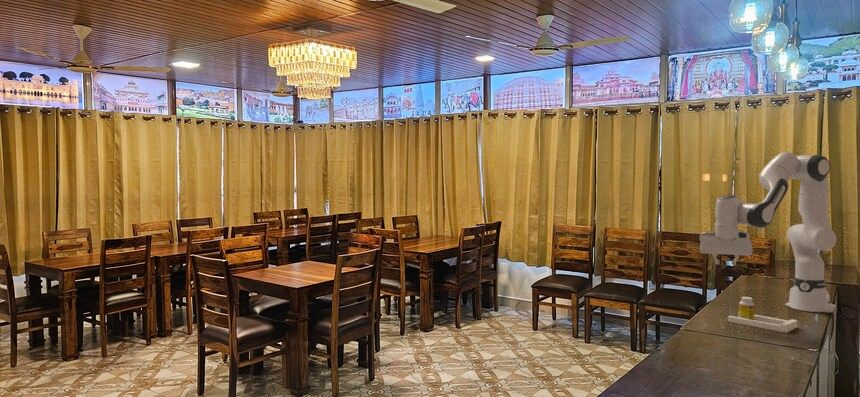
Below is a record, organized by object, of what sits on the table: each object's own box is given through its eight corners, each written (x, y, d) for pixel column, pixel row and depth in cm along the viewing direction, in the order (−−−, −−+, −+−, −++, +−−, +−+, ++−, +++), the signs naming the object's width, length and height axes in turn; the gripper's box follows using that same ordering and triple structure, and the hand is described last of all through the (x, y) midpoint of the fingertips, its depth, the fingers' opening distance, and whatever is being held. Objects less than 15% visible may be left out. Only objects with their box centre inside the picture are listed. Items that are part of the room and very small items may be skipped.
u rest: (739, 316, 245) (739, 310, 245) (797, 327, 228) (797, 320, 228) (727, 321, 237) (727, 314, 237) (786, 332, 220) (786, 325, 220)
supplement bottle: (749, 324, 233) (750, 299, 233) (736, 321, 238) (736, 297, 238) (756, 322, 236) (757, 298, 236) (743, 319, 241) (743, 295, 241)
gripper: (699, 232, 244) (699, 264, 244) (753, 234, 236) (753, 267, 236) (699, 231, 250) (698, 262, 250) (751, 233, 242) (750, 264, 242)
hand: (725, 264), depth 243 cm, fingers open, 5 cm apart
